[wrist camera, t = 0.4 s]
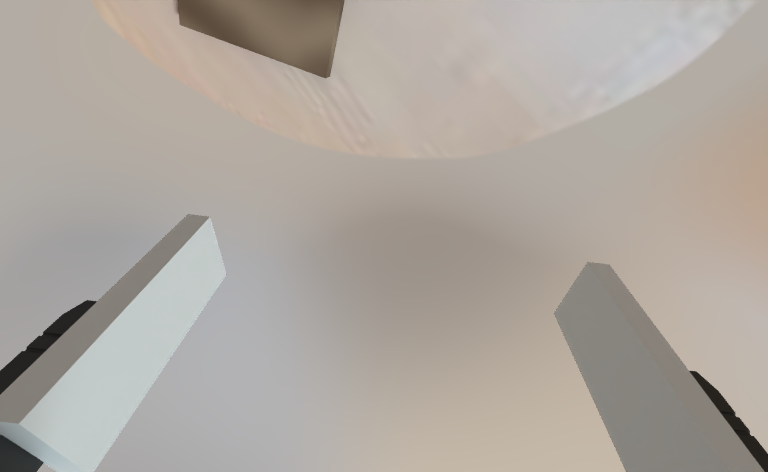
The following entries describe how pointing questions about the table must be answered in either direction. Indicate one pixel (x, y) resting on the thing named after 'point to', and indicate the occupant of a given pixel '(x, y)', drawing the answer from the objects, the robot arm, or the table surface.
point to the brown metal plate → (272, 28)
